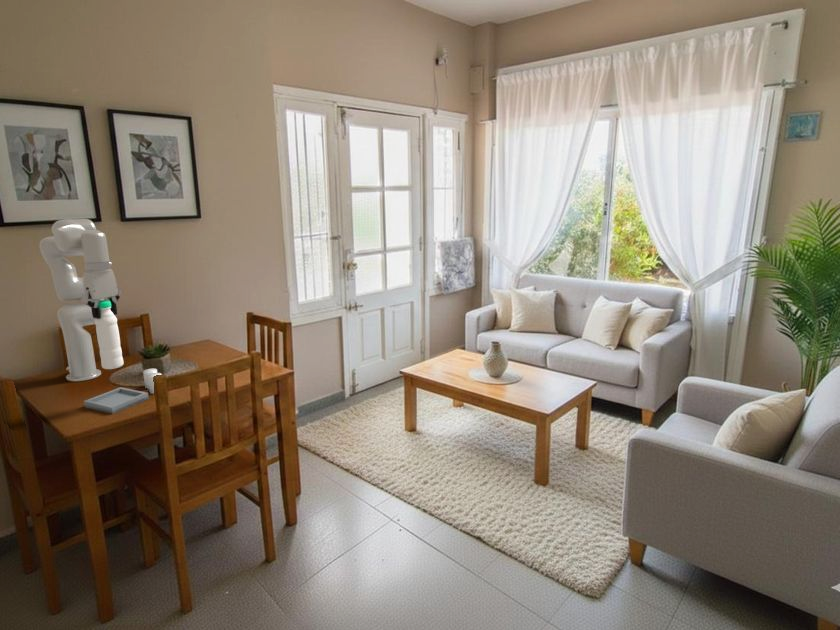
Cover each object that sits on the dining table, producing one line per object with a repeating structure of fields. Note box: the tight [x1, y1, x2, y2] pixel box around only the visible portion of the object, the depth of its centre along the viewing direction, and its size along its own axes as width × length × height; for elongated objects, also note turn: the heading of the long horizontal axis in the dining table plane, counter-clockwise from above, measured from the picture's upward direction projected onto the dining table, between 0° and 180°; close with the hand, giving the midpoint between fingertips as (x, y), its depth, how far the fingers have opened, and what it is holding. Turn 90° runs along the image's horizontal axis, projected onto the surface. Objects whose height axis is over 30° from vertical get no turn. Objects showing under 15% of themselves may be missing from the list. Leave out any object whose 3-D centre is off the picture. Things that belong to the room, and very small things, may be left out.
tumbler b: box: [142, 367, 158, 390], centre depth 208 cm, size 5×5×7 cm
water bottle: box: [94, 299, 125, 370], centre depth 187 cm, size 7×7×25 cm
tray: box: [83, 386, 150, 415], centre depth 193 cm, size 15×15×2 cm
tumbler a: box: [147, 372, 163, 395], centre depth 203 cm, size 5×5×7 cm
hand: (105, 315), depth 186 cm, fingers closed on water bottle, 5 cm apart
